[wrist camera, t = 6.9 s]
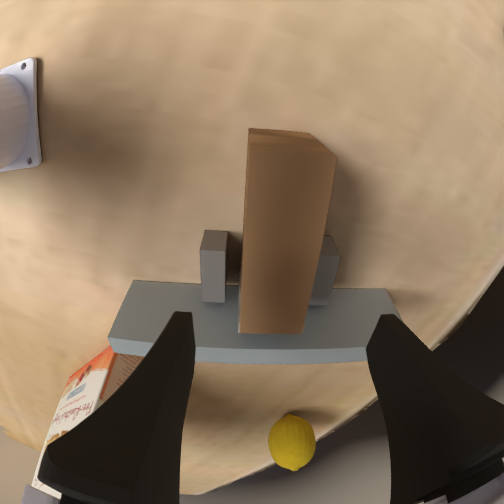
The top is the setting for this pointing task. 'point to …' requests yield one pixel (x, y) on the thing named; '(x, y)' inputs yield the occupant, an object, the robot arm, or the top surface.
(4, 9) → the top surface
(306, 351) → the grey plank with pegs
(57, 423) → the cracker box
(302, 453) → the lemon
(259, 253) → the block
